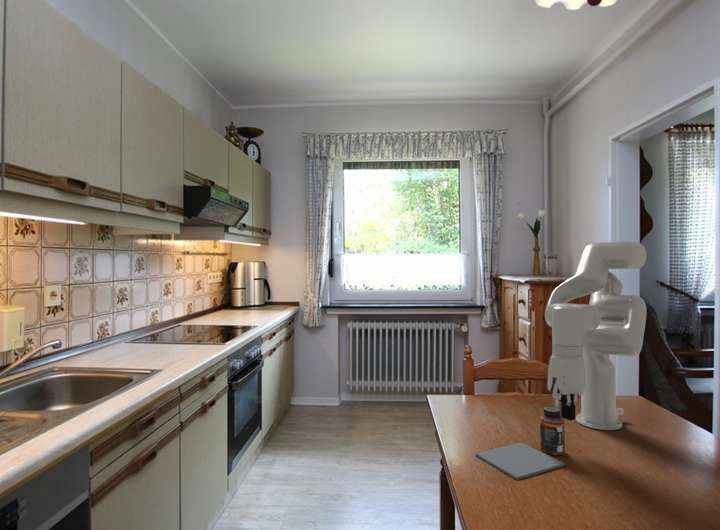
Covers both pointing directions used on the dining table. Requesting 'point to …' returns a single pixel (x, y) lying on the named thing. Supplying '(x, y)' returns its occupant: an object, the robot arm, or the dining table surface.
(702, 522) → the dining table surface
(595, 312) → the robot arm
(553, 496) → the dining table surface
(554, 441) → the supplement bottle
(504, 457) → the mat
